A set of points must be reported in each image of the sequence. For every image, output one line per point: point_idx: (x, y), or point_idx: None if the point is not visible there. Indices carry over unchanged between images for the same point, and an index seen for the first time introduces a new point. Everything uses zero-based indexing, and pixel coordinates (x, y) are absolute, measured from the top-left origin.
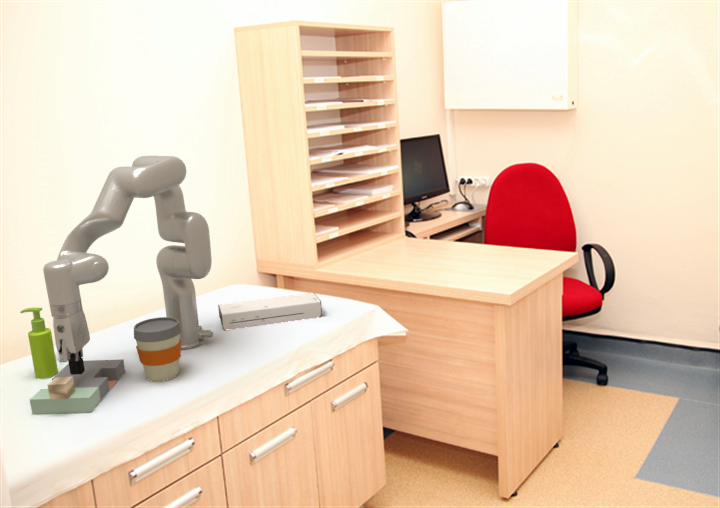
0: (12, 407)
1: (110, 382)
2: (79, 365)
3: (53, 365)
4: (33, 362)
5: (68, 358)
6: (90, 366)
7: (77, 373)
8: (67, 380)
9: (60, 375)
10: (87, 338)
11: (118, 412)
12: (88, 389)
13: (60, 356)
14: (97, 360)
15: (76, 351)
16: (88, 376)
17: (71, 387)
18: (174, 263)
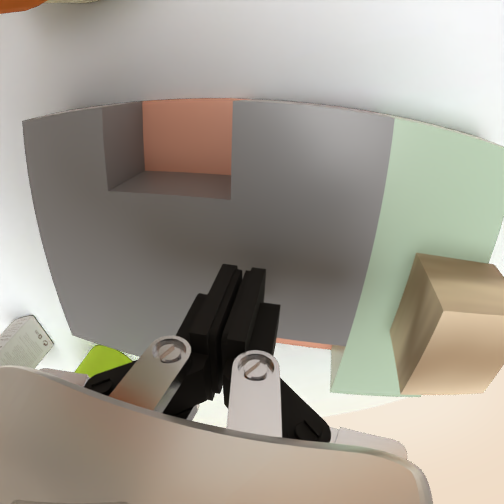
0: (334, 406)
1: (163, 126)
2: (254, 318)
3: (100, 372)
4: None
5: (382, 446)
6: (94, 255)
7: (263, 298)
8: (490, 323)
9: None
10: (19, 413)
11: (494, 21)
12: (417, 178)
13: (43, 352)
14: (44, 242)
15: (404, 471)
16: (210, 230)
17: (460, 278)
18: None
